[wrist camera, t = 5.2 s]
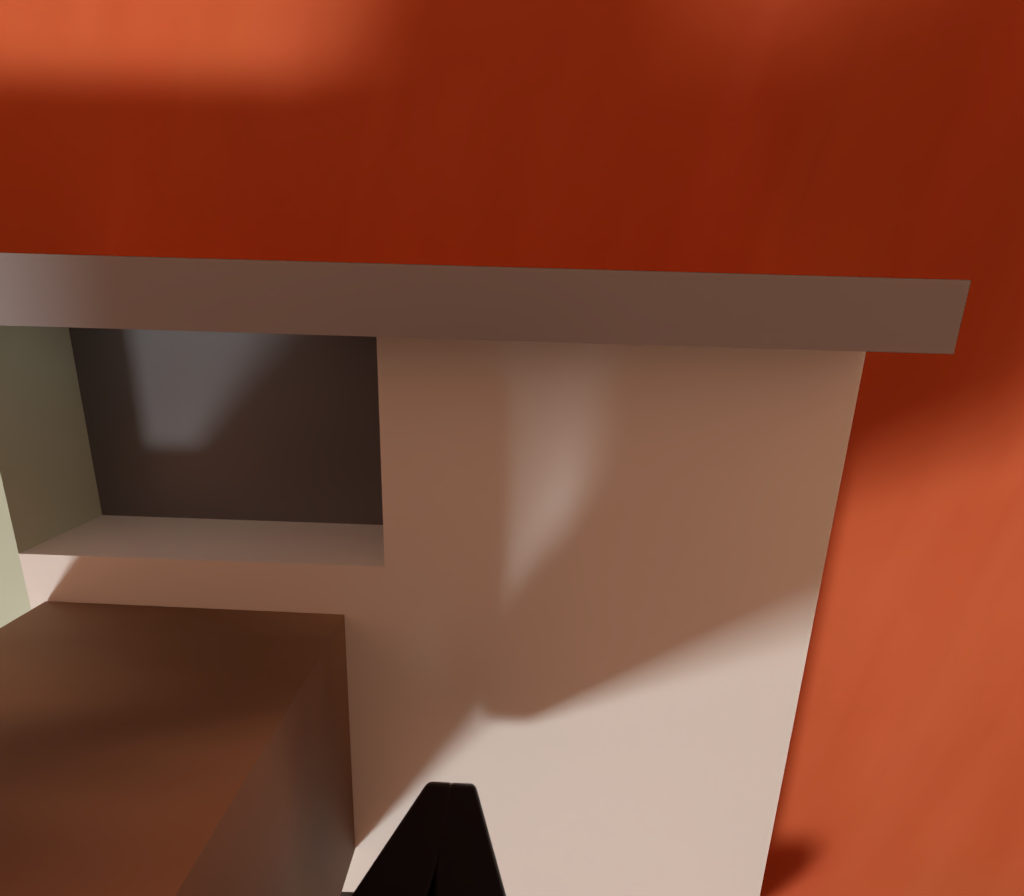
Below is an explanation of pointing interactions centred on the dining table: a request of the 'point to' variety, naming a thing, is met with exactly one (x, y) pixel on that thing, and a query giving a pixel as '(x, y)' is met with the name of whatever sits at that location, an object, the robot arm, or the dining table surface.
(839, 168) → the dining table surface
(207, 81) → the dining table surface
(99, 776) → the walnut block
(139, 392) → the box
